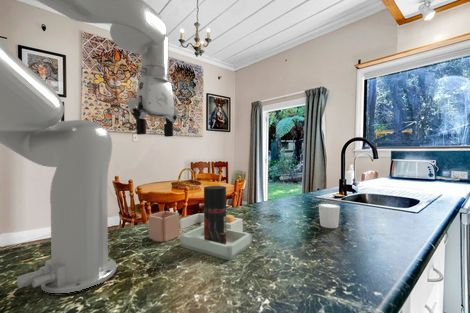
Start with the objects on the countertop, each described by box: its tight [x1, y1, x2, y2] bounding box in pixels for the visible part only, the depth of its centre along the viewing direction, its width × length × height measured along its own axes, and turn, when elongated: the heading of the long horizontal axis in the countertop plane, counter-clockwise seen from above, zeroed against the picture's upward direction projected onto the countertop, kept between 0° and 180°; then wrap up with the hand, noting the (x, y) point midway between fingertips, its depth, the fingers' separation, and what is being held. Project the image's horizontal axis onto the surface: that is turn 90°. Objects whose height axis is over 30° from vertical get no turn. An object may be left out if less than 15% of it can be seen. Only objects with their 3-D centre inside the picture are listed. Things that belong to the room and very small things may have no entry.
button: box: [226, 214, 235, 223], centre depth 72 cm, size 4×4×4 cm
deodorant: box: [203, 185, 227, 244], centre depth 62 cm, size 6×6×15 cm
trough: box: [179, 225, 253, 261], centre depth 62 cm, size 11×16×3 cm
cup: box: [148, 210, 180, 243], centre depth 69 cm, size 7×7×7 cm
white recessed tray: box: [179, 212, 244, 232], centre depth 76 cm, size 10×19×4 cm, turn 58°
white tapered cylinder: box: [318, 203, 341, 229], centre depth 79 cm, size 7×7×7 cm
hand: (155, 135), depth 67 cm, fingers open, 9 cm apart
